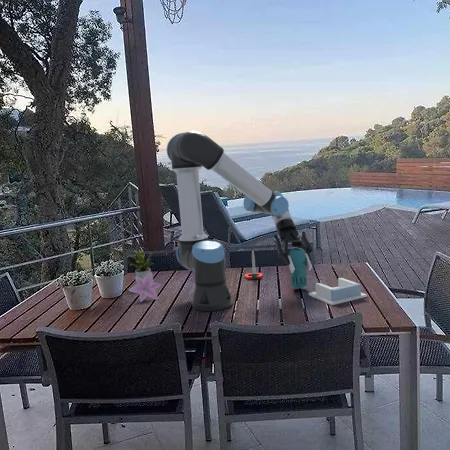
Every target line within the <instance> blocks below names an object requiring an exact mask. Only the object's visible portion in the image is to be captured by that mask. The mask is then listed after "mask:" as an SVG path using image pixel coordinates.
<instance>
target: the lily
mask: <svg viewBox="0 0 450 450" xmlns="http://www.w3.org/2000/svg"><path fill="white" fill-rule="evenodd" d="M153 276H154V275H153V272H152V271H151V272H150V273H148V274H147V275H146V277H145V278H144V279H141V278H139V277H137V276H135V277H134V278H135V282H136V284H135V285H133V286H131V287H130V288H129V289H128V291H129V292H131V293H135V294H139V301H140V303H141V302H143V301H144V300H145V299H146V298H147V297H149V298H150V299H154V300H158V299H159V298H158V297H159V296H158V294H157V291H156V289H158V288H159V287H160V286H162V284H161V283H158V282H154V277H153Z"/></svg>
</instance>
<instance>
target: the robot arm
mask: <svg viewBox="0 0 450 450" xmlns="http://www.w3.org/2000/svg"><path fill="white" fill-rule="evenodd" d="M166 155H167V157H168V159H169V160H170V162H171V163H170V164H171V170H172V171H173V172H174V173H175V174H176V184H177V194H178V204H179V216H180V217H179V218H180V226H181V235H180V236H179V237H178V246H177V249H176V260H177V261H178V263H179V264H180V265H181V266H182V267H183V268H185V269H187V270H189V271H191V272H193V275H194V283H195V284H194V291H193V294H192V299H191V305H192V308H193V310H196V311H200V312H216V311H221V310H226V309H228V308H230V307H231V306H232V305H233V296H232V294H231V291H230V289H229V286H228V285H227V276H226V275H227V274H226V262H225V261H226V260H225V257H226V256H225V249H224V246H223V245H222V243H220V242H218V241H211V240H209V236H208V235H207V233H205V231H204V223H203V221H204V220H203V210H202V208H203V207H202V201H201V200H202V198H201V187H200V186H201V185H200V173H199V172H200V170H201V169H202V167H203V168H205V169H206V171H212V172H214V173H216V174H217V175H218V176H220V177H221V178H222V179H224V180H225V181H226V182H228V183H229V184H230V185H232V186H233V187H234V188H236V189H237V190H238V191H239V192H241V193H242V194H243V195H245V196H244V199H243V203H242V204H243V209H244V210H245V211H246V212H251V213H260V214H267V215H270V216H271V217H272V219H273V222H274V225H275V228H276V230H277V233H278V234H274V235H273V238H272V240H273V242H274V243H275V247H276V248H275V249H276V251H277V256H278V258H279V259H282V260H283V261H284V262H285V264H286V266H288V267H289V270H290V274H291V273H294V270H295V268H294V265H293V262H292V260H291V257H290V254H289V252H288V251H289V244H290V243H292V241H294V240H301V241H302V246H301V247H297V248H302V249H303V250H304V251H305V258H306V269H307V270H308V271H309V272H310V271H311V270H312V268H313V265H312V263H311V262H312V258H311V254H312V252H313V248H312V246H311V244H310V242H309V240H308V238H307V237H306V232H305V231H302V232H299V231H298V230H297V227H296V226H295V225H296V224H295V222H294V220H293V217H292V215H291V212H290V209H289V206H290V205H289V201H288V199H287V198H286V197H284V195H283V193H282V192H280V191H277V190H275V191H272V190H271V189H270V188H268V187H267V186H266V185H265V184H263V183H262V182H261V181H259V180H258V179H257V178H256V177H255V176H253V175H252V174H251V173H250V172H249V171H247V170H246V169H245V168H244V167H242V166H241V165H240V164H239V163H237V162H236V161H235V160H234V159H233V158H230V156H228V155H227V154H226V153H225V149H224V148H223V147H222V146H220V145H219V144H218V143H217V142H216V141H214V140H213V139H212V138H210V137H209V136H208V135H206V134H205V133H202V132H200V131H198V130H197V131H196V130H190V131H186V132H179V133H177V134H175V135H173V136H172V137H171V138H170V139H169V141H168V142H167V145H166ZM281 241H283V247H282V245H281ZM282 248H283V249H282Z"/></svg>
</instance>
